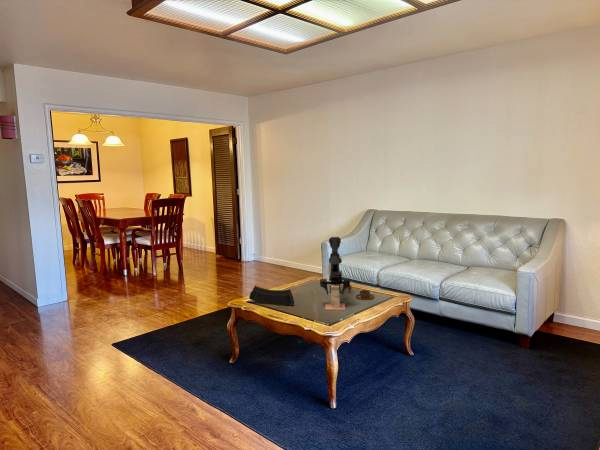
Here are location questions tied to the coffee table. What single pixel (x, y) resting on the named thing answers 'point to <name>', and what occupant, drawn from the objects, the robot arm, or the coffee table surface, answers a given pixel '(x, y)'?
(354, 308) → the coffee table surface
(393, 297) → the coffee table surface
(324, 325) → the coffee table surface
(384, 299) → the coffee table surface
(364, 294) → the place setting
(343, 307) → the terracotta mat
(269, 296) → the black flat curved piece
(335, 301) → the birch block
